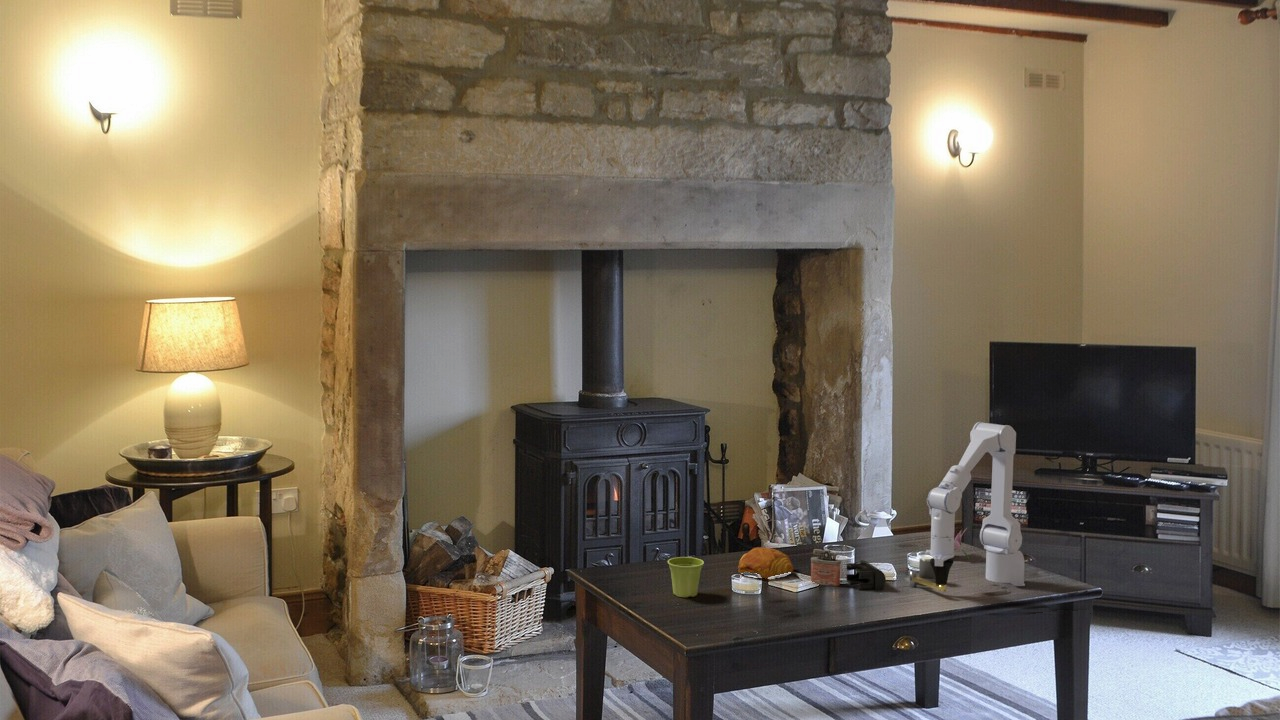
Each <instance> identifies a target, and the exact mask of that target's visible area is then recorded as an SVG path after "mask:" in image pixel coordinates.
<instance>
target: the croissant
mask: <svg viewBox="0 0 1280 720" xmlns="http://www.w3.org/2000/svg"><path fill="white" fill-rule="evenodd" d="M789 557H790V556H788V555H787V554H785V553H783V552H782V551H780V550H778V549H774V548H767V547H761V546H757V547H753V548H752V549H751V550H749V551H748V552H747V553H744V554H743V555H742V556H741V558H740V560H739V561H738V566H737V568H738V570H737V572H738V573H739V572H740V573H744V572H750V573H757V574H760V575H761V577H762V578H765V579H764V580H767V579H766V578H768V577H770V576H775V575H780V574H784V573H788V572H792V573H793V571H794V565H793V563H792V560H791V559H790V558H789Z"/></svg>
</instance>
